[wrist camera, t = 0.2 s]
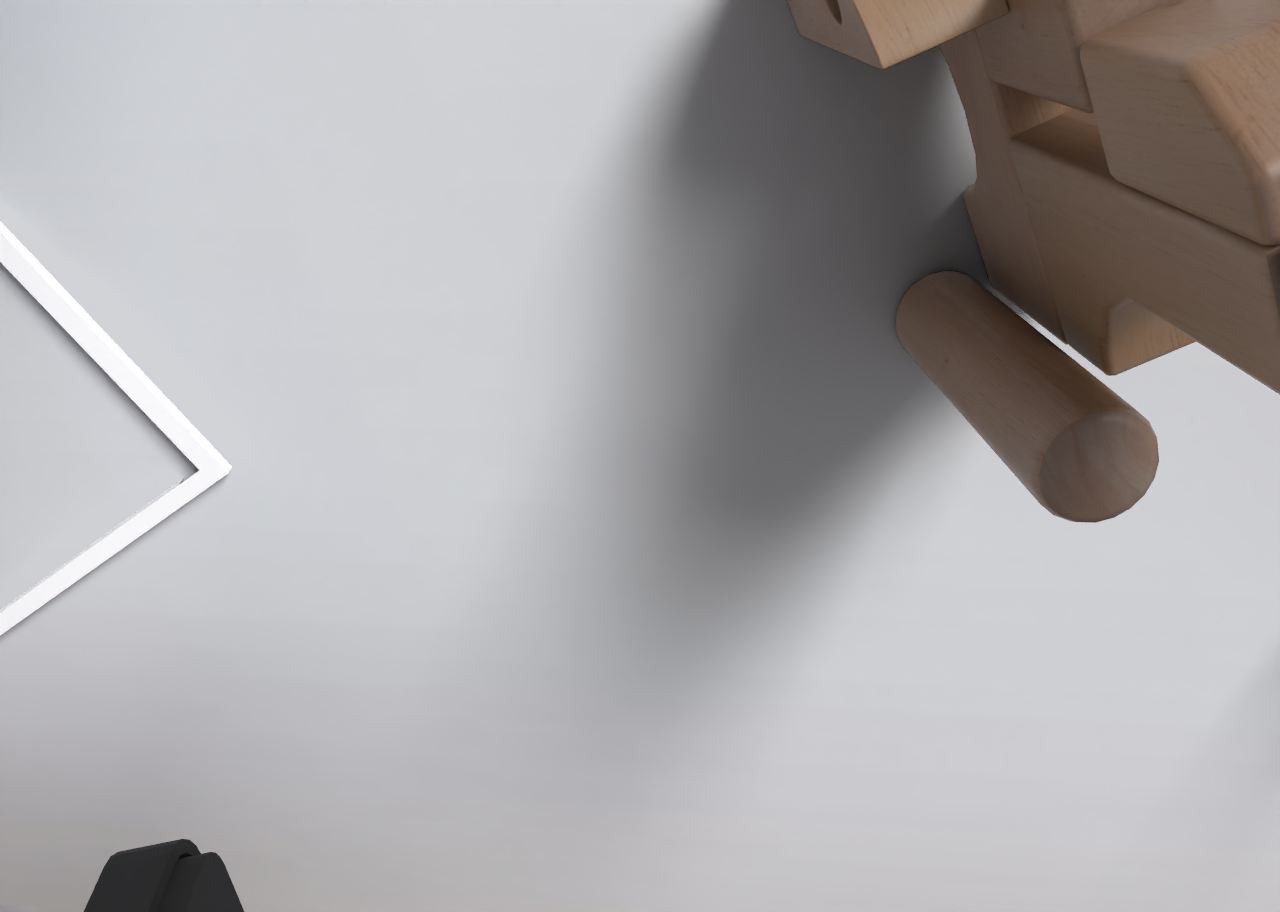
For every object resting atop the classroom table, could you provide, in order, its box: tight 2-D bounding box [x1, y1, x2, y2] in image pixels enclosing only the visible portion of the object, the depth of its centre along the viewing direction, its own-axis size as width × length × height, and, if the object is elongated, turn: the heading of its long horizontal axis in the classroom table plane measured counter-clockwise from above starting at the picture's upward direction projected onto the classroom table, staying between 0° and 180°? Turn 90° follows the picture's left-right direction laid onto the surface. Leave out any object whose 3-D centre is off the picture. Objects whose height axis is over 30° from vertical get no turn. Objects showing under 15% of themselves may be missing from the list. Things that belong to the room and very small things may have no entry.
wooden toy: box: [787, 0, 1280, 522], centre depth 27 cm, size 16×7×25 cm, turn 23°
